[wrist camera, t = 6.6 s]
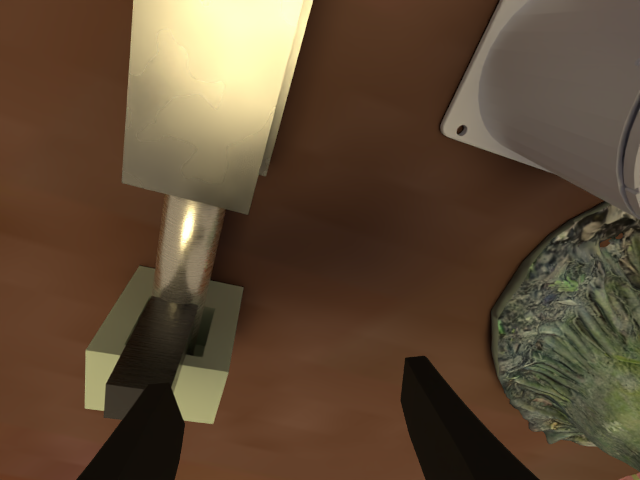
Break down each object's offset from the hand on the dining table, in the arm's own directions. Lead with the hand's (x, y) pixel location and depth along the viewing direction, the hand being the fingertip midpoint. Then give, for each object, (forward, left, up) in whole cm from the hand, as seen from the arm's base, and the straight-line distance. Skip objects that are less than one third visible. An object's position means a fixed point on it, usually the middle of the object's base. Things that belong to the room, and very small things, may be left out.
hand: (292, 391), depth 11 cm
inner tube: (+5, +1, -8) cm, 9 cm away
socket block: (+5, +7, -10) cm, 13 cm away
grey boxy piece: (+5, -7, -10) cm, 14 cm away
